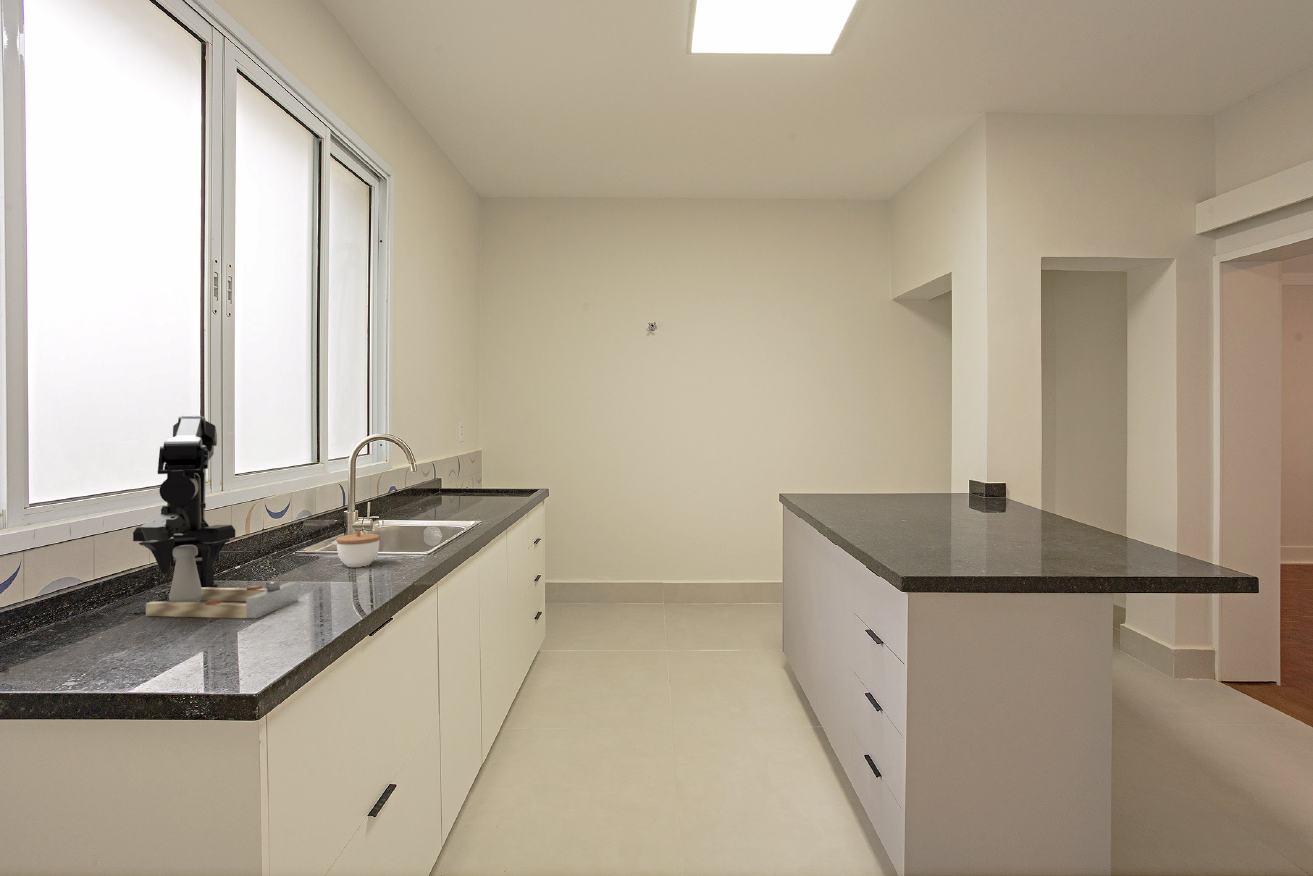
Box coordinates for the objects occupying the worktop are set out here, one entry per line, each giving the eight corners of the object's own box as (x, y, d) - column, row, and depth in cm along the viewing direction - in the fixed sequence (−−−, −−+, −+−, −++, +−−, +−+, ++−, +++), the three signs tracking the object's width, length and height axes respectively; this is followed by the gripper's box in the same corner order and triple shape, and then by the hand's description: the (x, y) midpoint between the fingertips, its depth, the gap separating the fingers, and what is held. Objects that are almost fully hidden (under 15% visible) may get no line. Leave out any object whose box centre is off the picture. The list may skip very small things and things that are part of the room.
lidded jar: (337, 571, 169) (336, 535, 169) (336, 563, 178) (336, 529, 178) (381, 566, 174) (381, 532, 174) (378, 559, 183) (378, 526, 183)
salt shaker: (184, 611, 132) (183, 548, 132) (161, 610, 133) (160, 547, 133) (209, 604, 138) (208, 543, 138) (187, 602, 139) (186, 542, 139)
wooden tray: (144, 616, 129) (144, 588, 129) (198, 598, 143) (197, 573, 142) (256, 618, 127) (255, 590, 127) (299, 600, 141) (299, 574, 140)
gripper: (107, 504, 128) (109, 582, 128) (194, 505, 126) (196, 584, 127) (155, 498, 139) (157, 569, 139) (236, 498, 137) (238, 571, 138)
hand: (185, 573), depth 135 cm, fingers open, 9 cm apart
